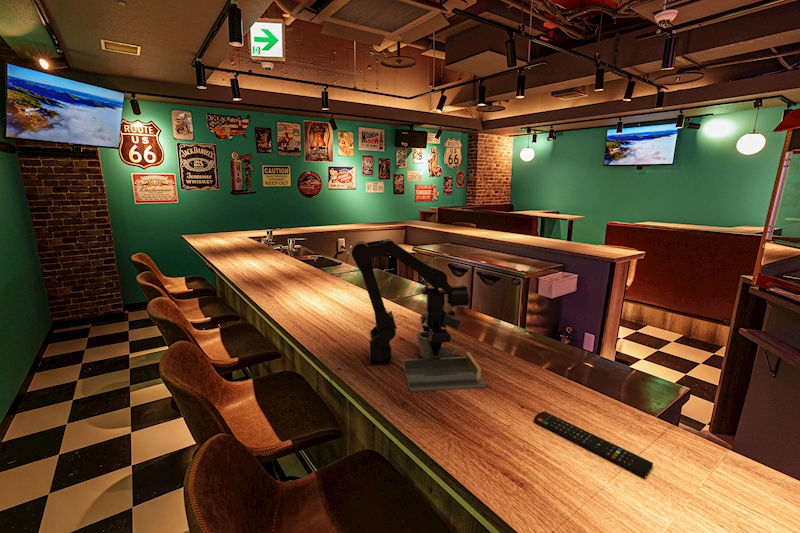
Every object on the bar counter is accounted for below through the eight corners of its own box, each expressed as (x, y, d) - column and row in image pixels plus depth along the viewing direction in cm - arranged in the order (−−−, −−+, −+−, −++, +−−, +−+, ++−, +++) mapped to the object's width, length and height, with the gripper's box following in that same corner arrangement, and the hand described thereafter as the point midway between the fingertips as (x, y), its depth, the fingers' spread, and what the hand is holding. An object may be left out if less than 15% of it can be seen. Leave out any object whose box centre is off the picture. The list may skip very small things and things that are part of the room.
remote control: (643, 481, 73) (644, 475, 73) (531, 423, 91) (531, 418, 90) (652, 468, 76) (653, 462, 76) (542, 415, 94) (542, 410, 94)
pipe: (453, 364, 120) (455, 341, 118) (414, 359, 122) (415, 337, 120) (455, 355, 125) (456, 333, 123) (417, 351, 128) (418, 329, 126)
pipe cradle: (410, 391, 103) (410, 374, 102) (403, 367, 117) (403, 352, 116) (486, 387, 106) (487, 370, 105) (471, 364, 119) (472, 349, 118)
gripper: (468, 315, 112) (465, 363, 115) (452, 298, 130) (450, 339, 133) (432, 316, 111) (430, 365, 114) (420, 298, 129) (419, 341, 132)
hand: (433, 351), depth 123 cm, fingers closed on pipe, 6 cm apart
